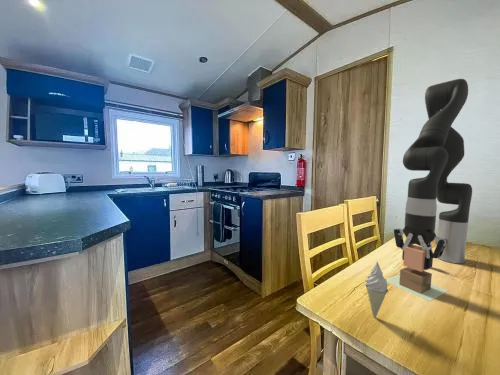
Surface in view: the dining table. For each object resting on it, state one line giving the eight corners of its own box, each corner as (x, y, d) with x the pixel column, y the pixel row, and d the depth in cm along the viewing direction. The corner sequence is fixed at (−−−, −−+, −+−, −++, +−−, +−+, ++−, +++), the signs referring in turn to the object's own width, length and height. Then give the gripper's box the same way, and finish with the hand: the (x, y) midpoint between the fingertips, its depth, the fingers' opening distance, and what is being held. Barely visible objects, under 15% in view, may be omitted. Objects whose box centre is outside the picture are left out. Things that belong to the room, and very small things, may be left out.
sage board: (402, 275, 79) (402, 272, 79) (448, 294, 68) (448, 290, 67) (383, 283, 73) (383, 280, 73) (429, 305, 62) (429, 301, 62)
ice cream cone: (359, 311, 59) (362, 257, 57) (377, 310, 59) (380, 257, 58) (371, 324, 54) (375, 266, 52) (390, 323, 54) (394, 265, 53)
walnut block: (409, 280, 73) (410, 266, 73) (430, 289, 68) (431, 273, 68) (399, 284, 71) (400, 269, 70) (420, 293, 65) (422, 277, 65)
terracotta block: (411, 262, 72) (412, 244, 72) (429, 268, 68) (431, 249, 67) (403, 265, 70) (404, 247, 69) (421, 271, 65) (422, 252, 65)
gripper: (455, 215, 63) (450, 272, 64) (401, 207, 76) (398, 255, 77) (443, 218, 59) (438, 278, 61) (389, 209, 72) (386, 259, 73)
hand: (416, 265), depth 69 cm, fingers closed on terracotta block, 5 cm apart
